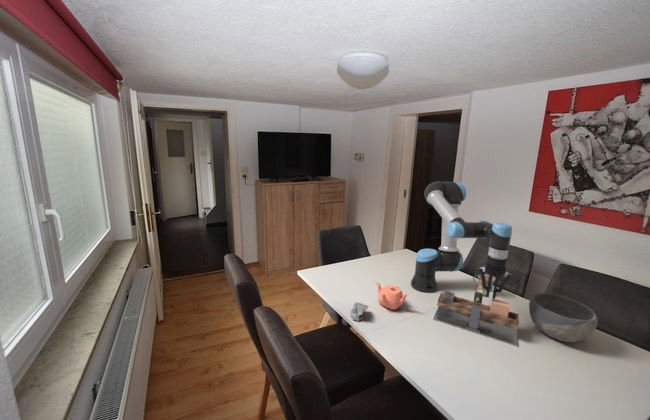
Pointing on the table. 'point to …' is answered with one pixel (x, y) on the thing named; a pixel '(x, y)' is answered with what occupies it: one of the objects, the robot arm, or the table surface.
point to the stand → (477, 323)
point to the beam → (465, 308)
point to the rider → (499, 307)
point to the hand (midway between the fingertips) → (489, 303)
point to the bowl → (562, 317)
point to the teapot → (390, 296)
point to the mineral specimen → (358, 311)
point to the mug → (480, 288)
